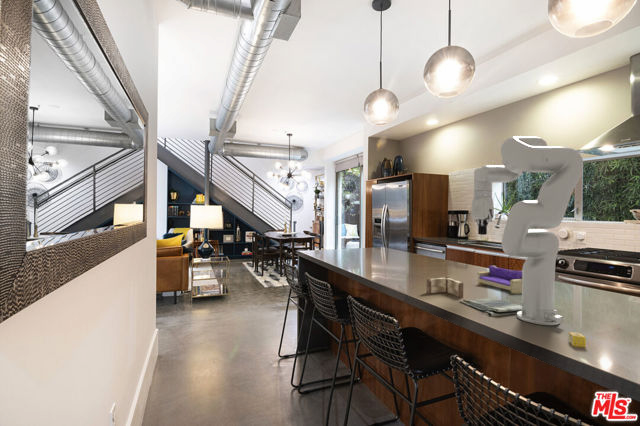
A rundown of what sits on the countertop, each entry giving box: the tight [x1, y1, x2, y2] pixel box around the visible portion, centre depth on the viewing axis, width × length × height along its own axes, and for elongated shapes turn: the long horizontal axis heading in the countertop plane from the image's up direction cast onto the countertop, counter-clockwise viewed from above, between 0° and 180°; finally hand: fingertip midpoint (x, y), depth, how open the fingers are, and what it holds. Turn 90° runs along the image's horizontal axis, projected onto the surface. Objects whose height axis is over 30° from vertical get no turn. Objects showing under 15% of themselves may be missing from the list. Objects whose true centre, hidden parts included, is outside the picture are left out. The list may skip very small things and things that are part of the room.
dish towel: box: [458, 297, 522, 318], centre depth 128 cm, size 19×18×3 cm
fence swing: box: [426, 277, 447, 294], centre depth 148 cm, size 10×2×6 cm, turn 110°
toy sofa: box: [476, 265, 522, 295], centre depth 158 cm, size 21×9×10 cm, turn 19°
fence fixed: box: [444, 276, 464, 299], centre depth 145 cm, size 12×2×7 cm, turn 12°
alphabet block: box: [567, 331, 587, 348], centre depth 93 cm, size 3×3×3 cm
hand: (482, 234), depth 150 cm, fingers closed
